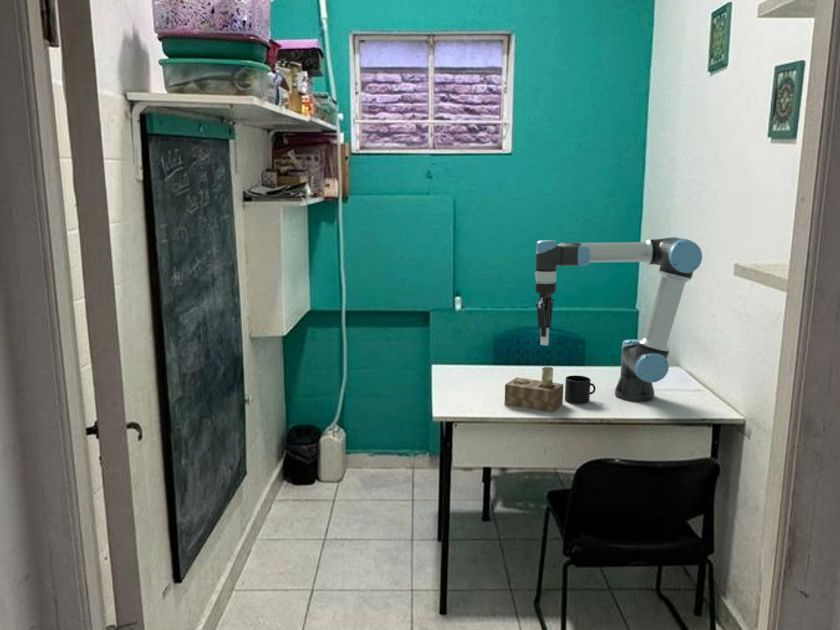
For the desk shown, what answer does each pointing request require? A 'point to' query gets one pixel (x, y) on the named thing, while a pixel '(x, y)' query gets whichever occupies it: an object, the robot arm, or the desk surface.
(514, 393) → the walnut block
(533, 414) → the desk surface
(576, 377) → the mug
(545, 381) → the peg
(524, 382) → the peg
